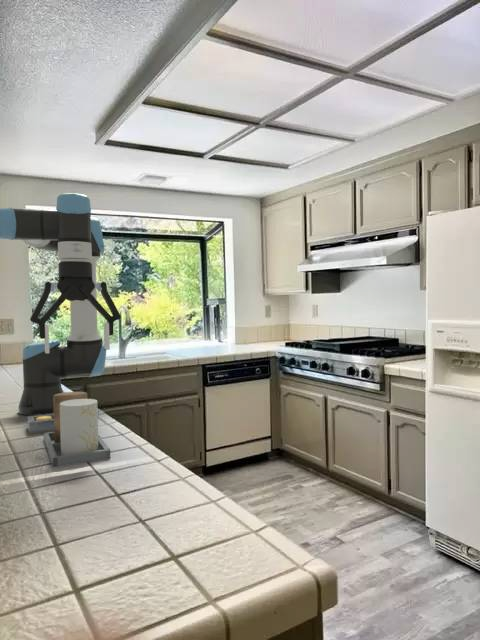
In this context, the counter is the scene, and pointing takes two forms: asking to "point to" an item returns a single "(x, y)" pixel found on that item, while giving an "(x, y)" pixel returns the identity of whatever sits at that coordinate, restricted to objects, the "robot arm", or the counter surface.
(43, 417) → the button
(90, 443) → the white stubby cylinder
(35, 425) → the grey square holder
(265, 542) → the counter surface
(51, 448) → the grey divided tray
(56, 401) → the ball
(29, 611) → the counter surface
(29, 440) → the counter surface
